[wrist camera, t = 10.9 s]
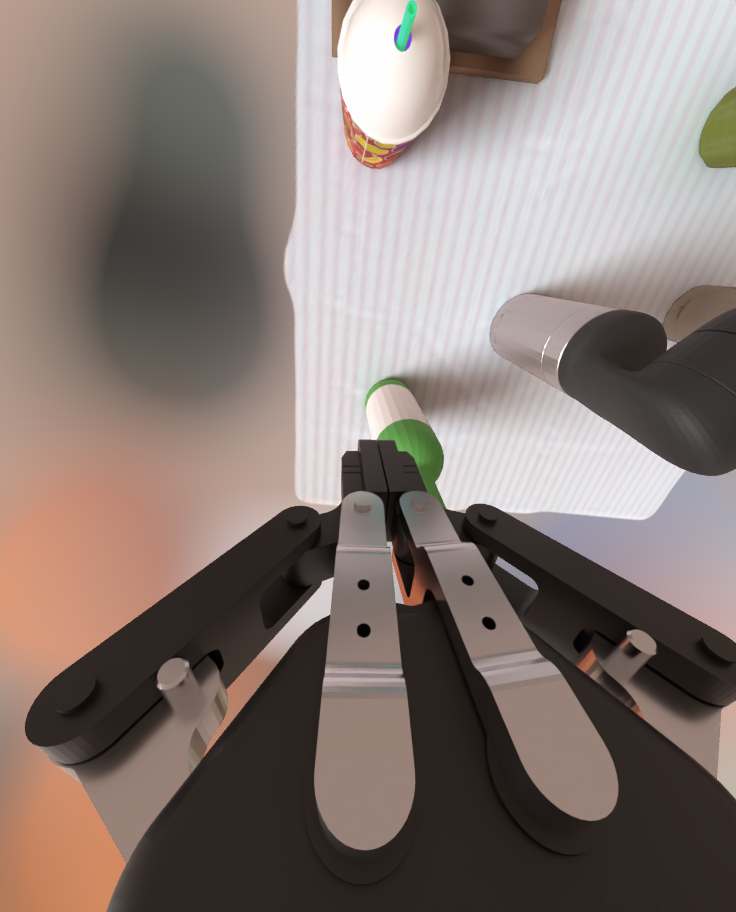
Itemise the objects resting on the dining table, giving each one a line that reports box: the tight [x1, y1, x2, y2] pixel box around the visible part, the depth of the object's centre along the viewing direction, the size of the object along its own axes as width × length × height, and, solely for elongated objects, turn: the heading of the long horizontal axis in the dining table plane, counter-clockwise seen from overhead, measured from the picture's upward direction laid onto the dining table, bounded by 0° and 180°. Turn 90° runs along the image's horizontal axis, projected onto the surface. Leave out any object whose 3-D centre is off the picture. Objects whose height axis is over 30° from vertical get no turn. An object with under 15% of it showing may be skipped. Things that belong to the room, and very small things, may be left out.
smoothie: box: [337, 0, 450, 169], centre depth 26 cm, size 8×8×20 cm
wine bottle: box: [365, 379, 446, 509], centre depth 39 cm, size 8×8×30 cm
